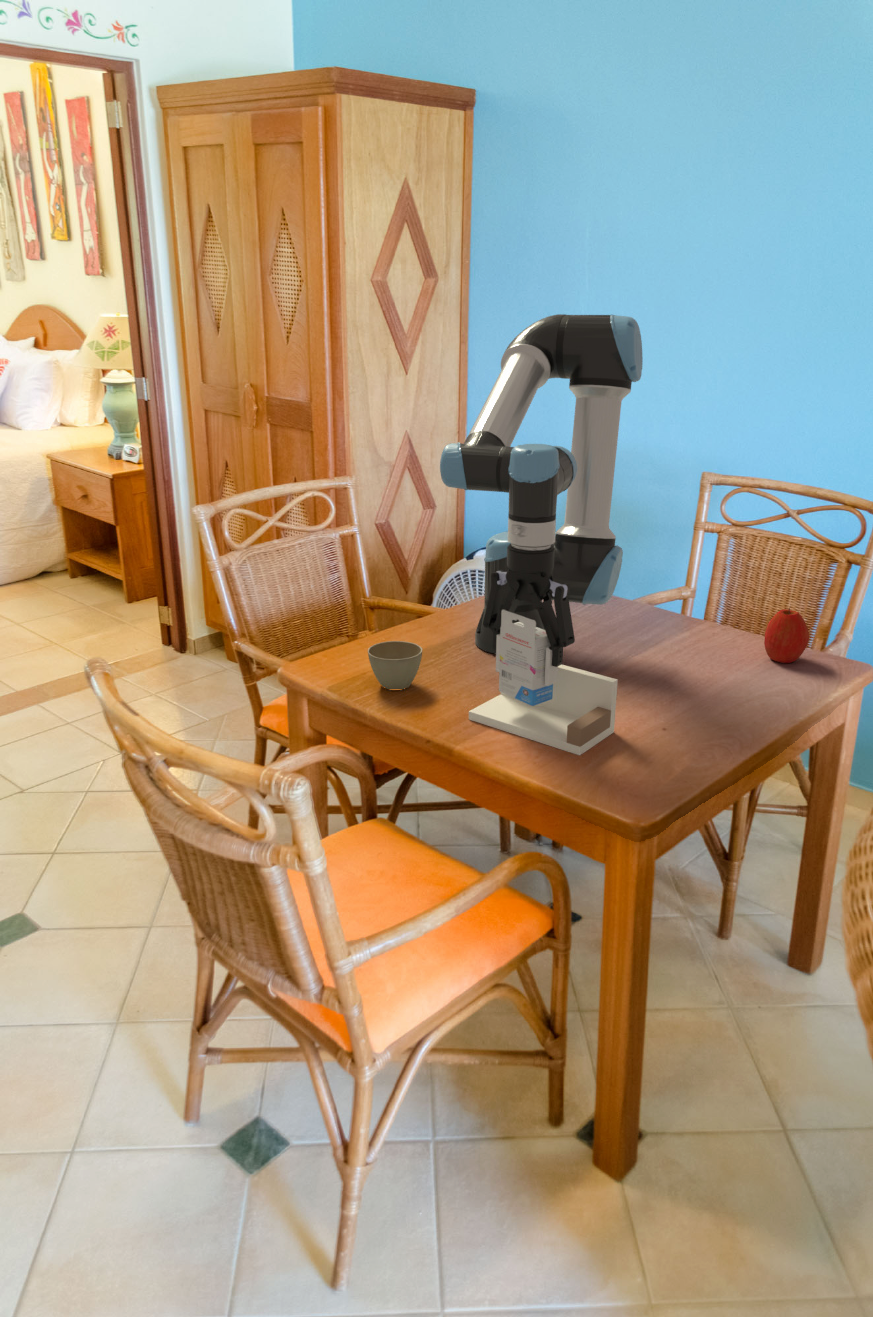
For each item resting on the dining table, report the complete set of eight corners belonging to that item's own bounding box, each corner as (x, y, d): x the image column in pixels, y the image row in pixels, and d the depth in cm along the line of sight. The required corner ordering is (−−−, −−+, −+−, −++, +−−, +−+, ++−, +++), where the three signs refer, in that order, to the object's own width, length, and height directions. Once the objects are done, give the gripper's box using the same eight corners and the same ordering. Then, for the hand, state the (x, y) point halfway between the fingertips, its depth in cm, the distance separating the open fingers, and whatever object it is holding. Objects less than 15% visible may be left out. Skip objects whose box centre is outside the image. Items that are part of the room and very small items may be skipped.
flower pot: (431, 680, 190) (431, 645, 188) (407, 700, 182) (407, 662, 179) (384, 672, 194) (383, 637, 191) (358, 690, 186) (357, 654, 183)
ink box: (554, 699, 169) (558, 615, 163) (532, 707, 166) (535, 621, 160) (518, 684, 175) (521, 602, 169) (497, 691, 172) (499, 608, 167)
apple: (811, 658, 201) (818, 607, 197) (795, 670, 195) (802, 617, 191) (771, 649, 206) (777, 598, 202) (754, 660, 200) (760, 608, 196)
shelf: (468, 719, 174) (469, 667, 171) (505, 699, 182) (506, 649, 179) (579, 755, 161) (582, 700, 158) (613, 732, 169) (617, 679, 166)
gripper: (462, 538, 165) (460, 667, 173) (578, 560, 152) (570, 699, 160) (489, 529, 170) (486, 655, 178) (603, 550, 157) (594, 685, 165)
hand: (526, 676), depth 169 cm, fingers closed on ink box, 9 cm apart
